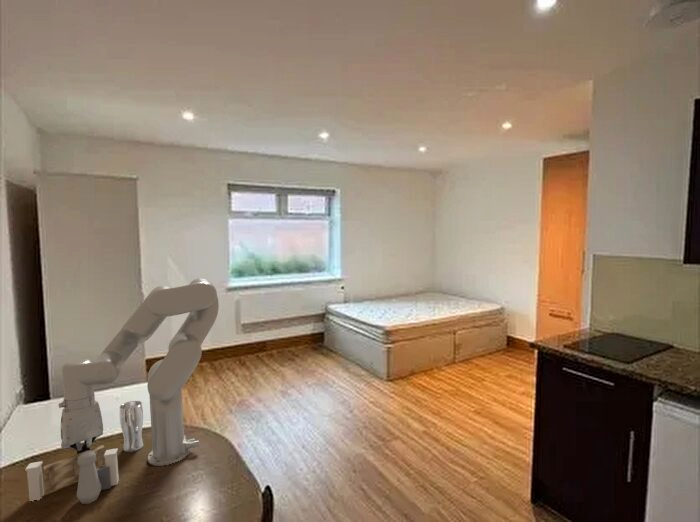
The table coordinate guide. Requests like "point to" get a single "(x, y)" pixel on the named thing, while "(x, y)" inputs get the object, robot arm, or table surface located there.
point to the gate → (69, 469)
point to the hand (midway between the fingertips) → (84, 460)
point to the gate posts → (106, 474)
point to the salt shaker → (88, 478)
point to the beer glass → (132, 425)
